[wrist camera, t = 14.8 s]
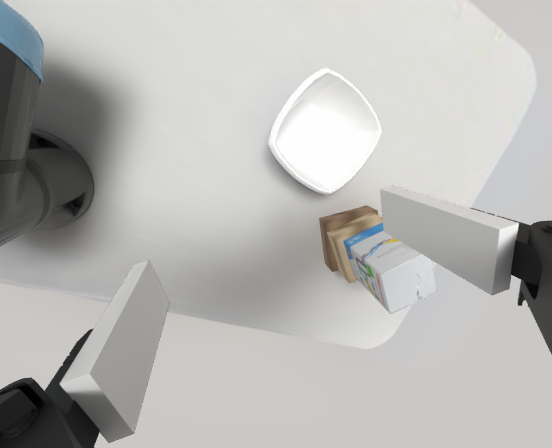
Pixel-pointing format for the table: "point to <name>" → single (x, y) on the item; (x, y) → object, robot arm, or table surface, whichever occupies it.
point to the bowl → (325, 132)
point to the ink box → (390, 268)
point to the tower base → (335, 222)
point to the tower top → (343, 234)
